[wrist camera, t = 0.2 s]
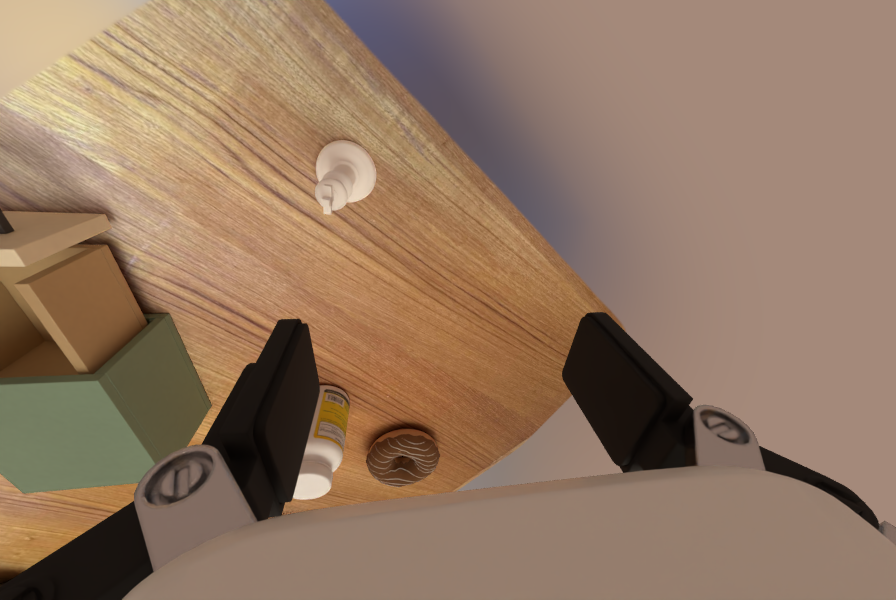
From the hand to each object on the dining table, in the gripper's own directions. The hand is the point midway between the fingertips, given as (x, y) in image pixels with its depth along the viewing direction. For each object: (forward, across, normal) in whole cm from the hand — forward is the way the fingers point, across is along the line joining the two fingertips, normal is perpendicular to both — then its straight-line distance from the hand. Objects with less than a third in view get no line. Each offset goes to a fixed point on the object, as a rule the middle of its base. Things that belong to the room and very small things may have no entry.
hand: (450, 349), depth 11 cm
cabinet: (+21, +30, +19) cm, 41 cm away
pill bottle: (+22, +11, +26) cm, 36 cm away
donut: (+22, +1, +37) cm, 43 cm away
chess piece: (+22, +6, -2) cm, 22 cm away
